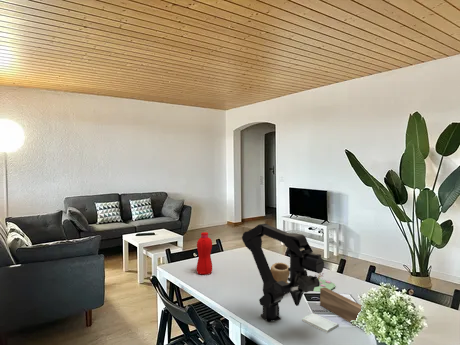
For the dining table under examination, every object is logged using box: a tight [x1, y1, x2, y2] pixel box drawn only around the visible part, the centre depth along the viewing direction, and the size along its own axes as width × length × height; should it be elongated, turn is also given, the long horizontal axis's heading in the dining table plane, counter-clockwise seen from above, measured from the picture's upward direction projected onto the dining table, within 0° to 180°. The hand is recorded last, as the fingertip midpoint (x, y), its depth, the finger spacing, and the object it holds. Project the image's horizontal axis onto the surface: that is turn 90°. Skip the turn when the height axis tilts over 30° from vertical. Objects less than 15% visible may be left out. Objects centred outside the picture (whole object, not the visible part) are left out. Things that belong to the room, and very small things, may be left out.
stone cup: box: [270, 262, 290, 283], centre depth 159 cm, size 15×12×15 cm
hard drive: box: [301, 312, 340, 334], centre depth 126 cm, size 2×8×12 cm
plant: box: [312, 272, 336, 293], centre depth 171 cm, size 25×21×9 cm
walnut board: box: [319, 287, 363, 323], centre depth 132 cm, size 3×26×8 cm, turn 26°
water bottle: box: [196, 232, 213, 276], centre depth 188 cm, size 9×11×25 cm
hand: (296, 305), depth 121 cm, fingers closed
